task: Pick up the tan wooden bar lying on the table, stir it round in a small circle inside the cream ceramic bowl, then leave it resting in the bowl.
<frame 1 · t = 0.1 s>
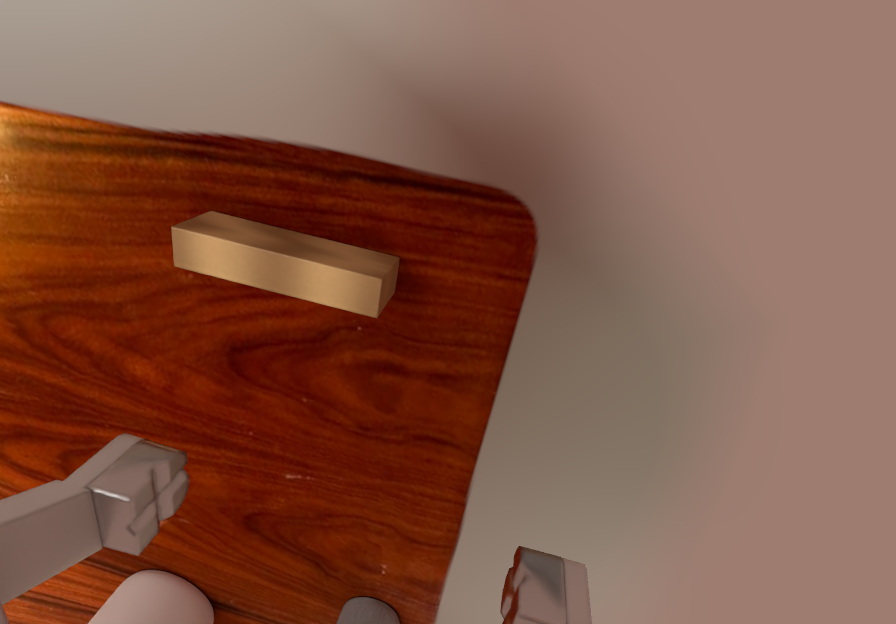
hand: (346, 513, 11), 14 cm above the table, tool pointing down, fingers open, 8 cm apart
tan wooden bar: (303, 251, 25), on the table
cup: (193, 603, 41), on the table
grey hollow cylinder: (372, 613, 37), on the table
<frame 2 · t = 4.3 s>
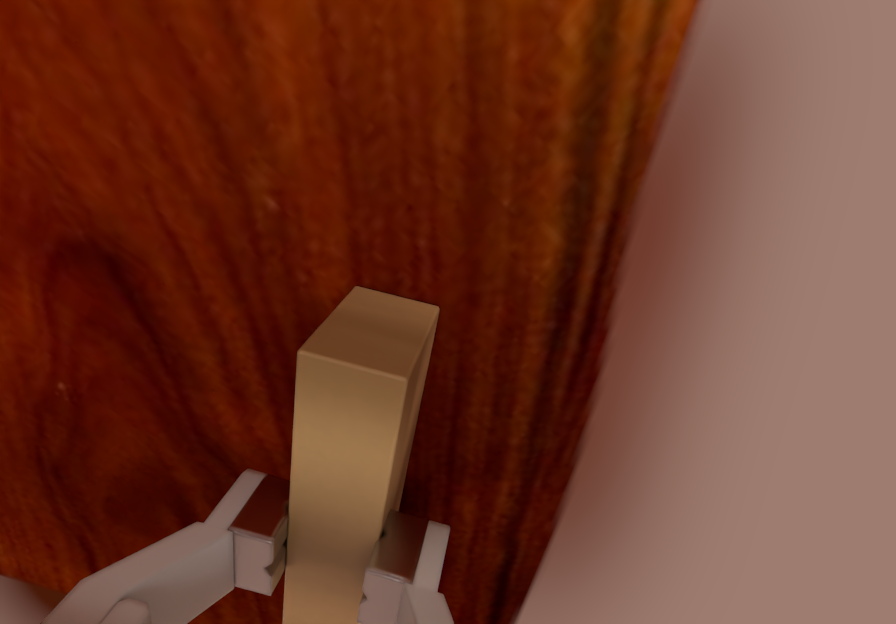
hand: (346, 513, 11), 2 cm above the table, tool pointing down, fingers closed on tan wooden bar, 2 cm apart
tan wooden bar: (372, 458, 13), on the table, touching gripper
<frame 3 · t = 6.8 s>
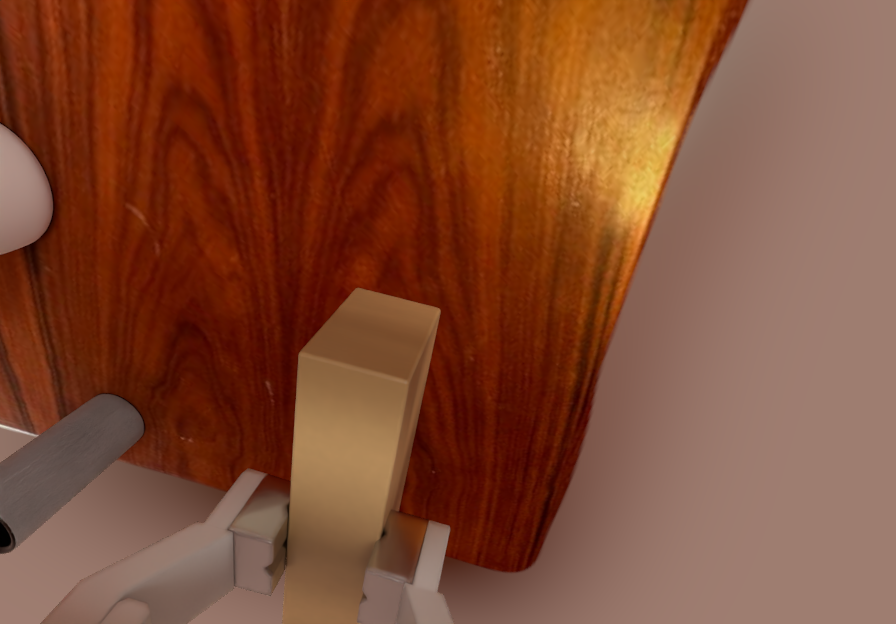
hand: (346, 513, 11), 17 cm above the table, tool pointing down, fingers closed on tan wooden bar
tan wooden bar: (372, 459, 13), point 15 cm above the table, touching gripper
cup: (8, 209, 31), on the table
grey hollow cylinder: (120, 415, 37), on the table
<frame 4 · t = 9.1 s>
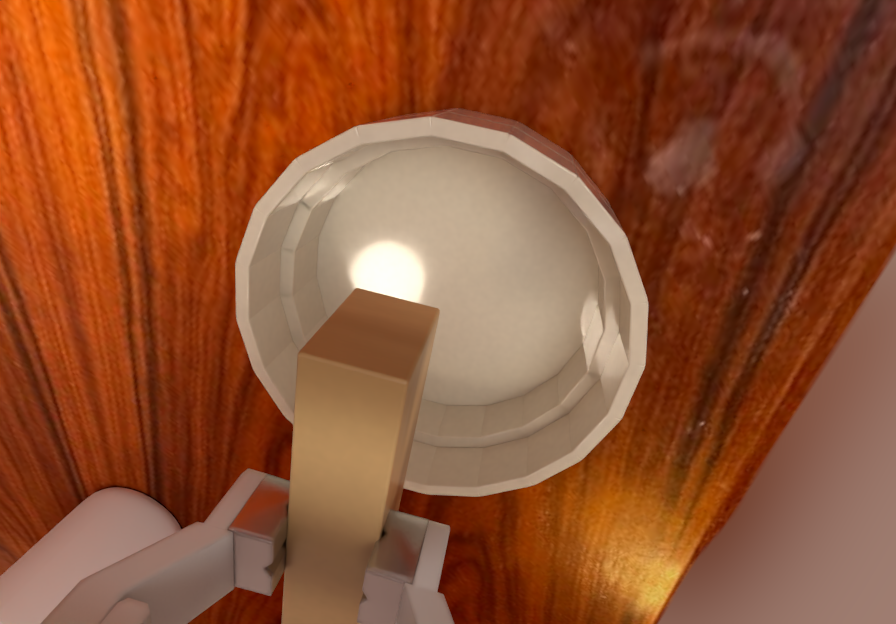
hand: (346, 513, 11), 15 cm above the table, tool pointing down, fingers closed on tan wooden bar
tan wooden bar: (371, 460, 13), point 13 cm above the table, touching gripper
cup: (144, 538, 39), on the table
bowl: (453, 284, 24), on the table
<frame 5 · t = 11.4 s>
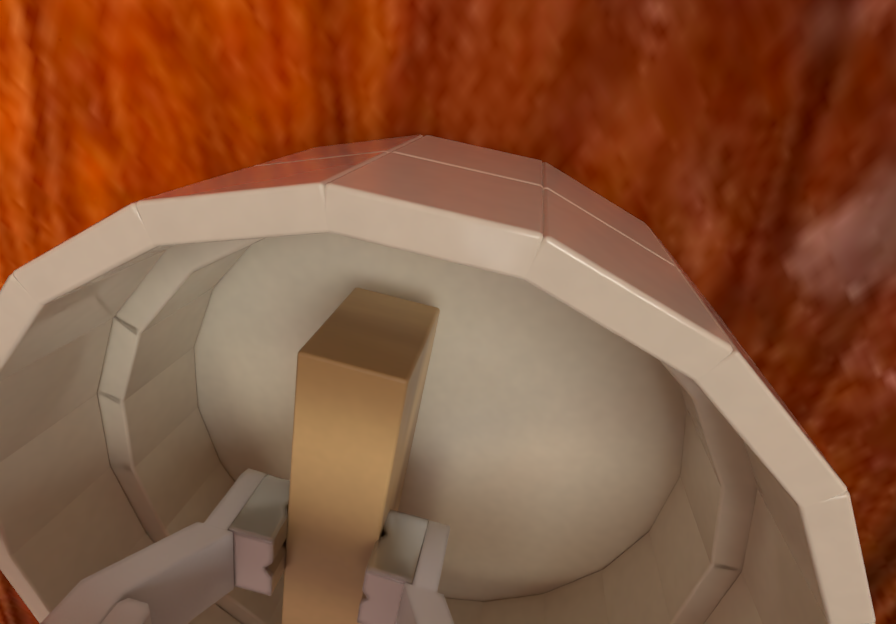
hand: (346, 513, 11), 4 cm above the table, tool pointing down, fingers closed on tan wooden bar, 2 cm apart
tan wooden bar: (371, 459, 13), point 2 cm above the table, touching gripper
bowl: (426, 424, 14), on the table
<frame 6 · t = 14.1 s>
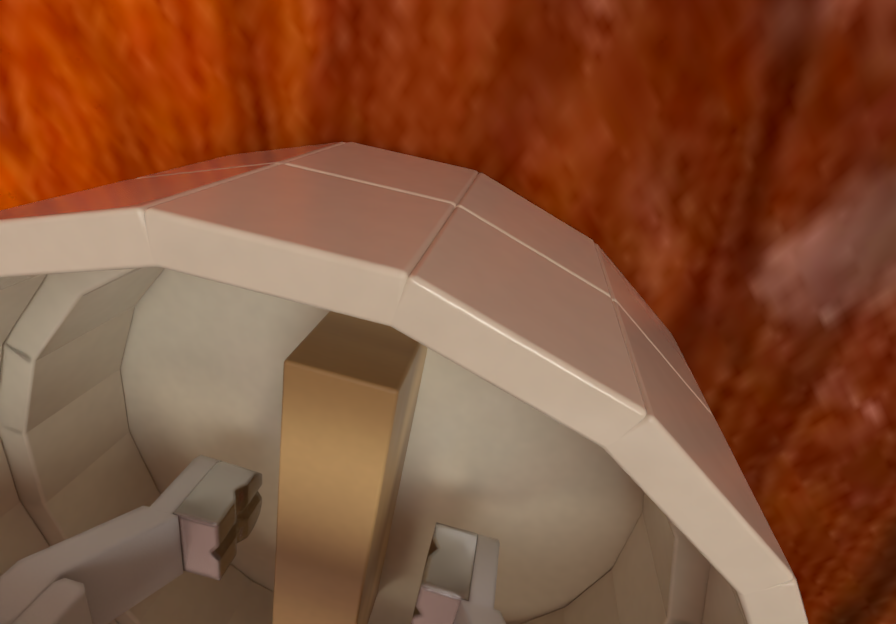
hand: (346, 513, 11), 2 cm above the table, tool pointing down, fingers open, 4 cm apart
tan wooden bar: (365, 467, 13), point 1 cm above the table, touching bowl
bowl: (373, 452, 13), on the table
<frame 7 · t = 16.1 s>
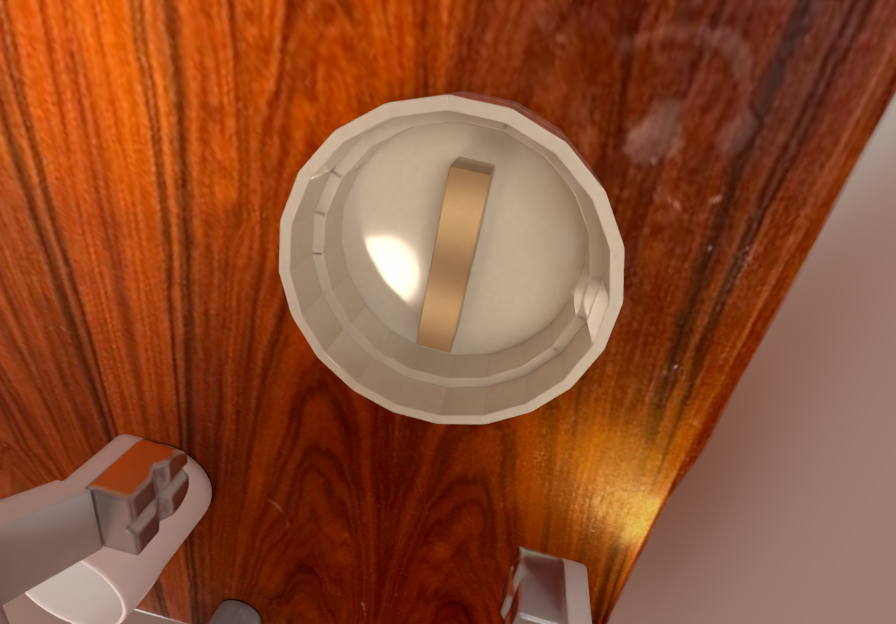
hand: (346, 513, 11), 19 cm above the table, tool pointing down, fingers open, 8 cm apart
tan wooden bar: (458, 249, 28), point 1 cm above the table, touching bowl
cup: (174, 492, 42), on the table
bowl: (460, 245, 28), on the table
grey hollow cylinder: (241, 612, 49), on the table
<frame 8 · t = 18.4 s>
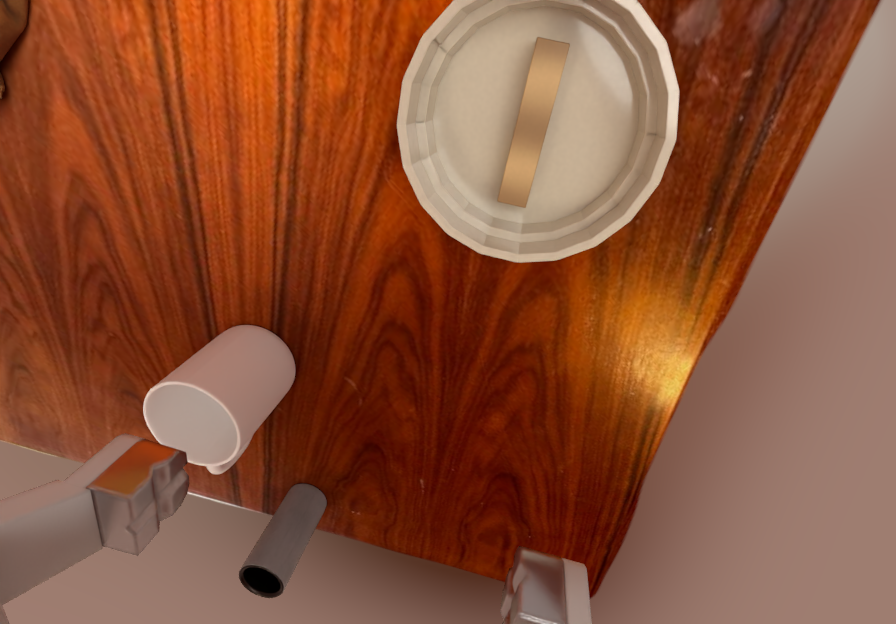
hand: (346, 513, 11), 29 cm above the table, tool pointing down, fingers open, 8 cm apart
tan wooden bar: (531, 124, 33), point 1 cm above the table, touching bowl
cup: (260, 374, 48), on the table
bowl: (532, 123, 34), on the table
grey hollow cylinder: (309, 496, 55), on the table
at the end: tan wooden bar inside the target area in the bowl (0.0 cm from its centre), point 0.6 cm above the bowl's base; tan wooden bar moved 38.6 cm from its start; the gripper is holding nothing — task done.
